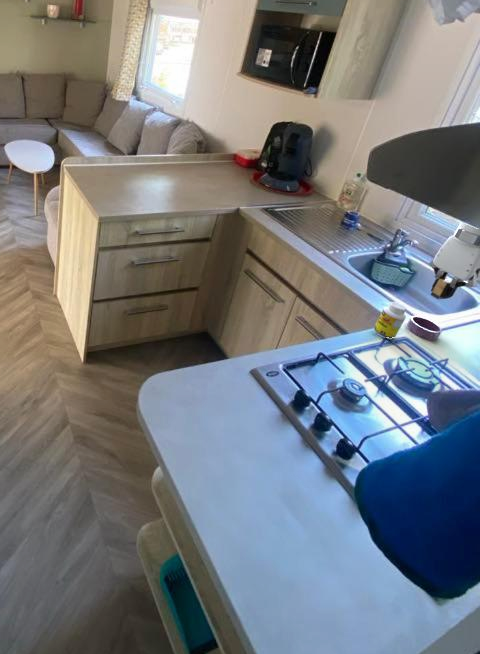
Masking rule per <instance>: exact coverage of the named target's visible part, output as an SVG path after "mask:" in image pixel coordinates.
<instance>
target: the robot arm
mask: <svg viewBox="0 0 480 654" xmlns="http://www.w3.org/2000/svg"><path fill="white" fill-rule="evenodd" d="M428 264H429V266H430V267H431V268H432V269H433V272H434V275H435V276H434V278H435V280H434V282H433V284H432V286H431V289H430V292H432V291H433V289H434V288H435V286H436V284H437V282H438V280H439V279H447V277H448V276H449V275H451V276H452V277H453V278H451V280H452V281H451V283H450V285H447V286H446V288H445V289H444V291H443V293H442V295H441V297H442V298H448V299H450V298H453V296H454V295H455V293H456V291H457V289H458V288H462V287H467V288H476V287H477V284H478V283H477V282H478V280H479V279H480V229H476V228H474V227H471V226H469V225H466V224H463V223H461V222H460V223H459V226H458V227H457V229H456V231H455V232H454V234H451V235H450V236H449V237H448V238H447V240H446V241H445V242H444V243H443V244H442V246H441V247H440V248H439V250H438V251H437V253H436V255H435V256H434V259H432V260H431V261H429V263H428Z"/></svg>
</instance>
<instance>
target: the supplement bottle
mask: <svg viewBox="0 0 480 654" xmlns="http://www.w3.org/2000/svg"><path fill="white" fill-rule="evenodd" d="M406 310H407V307H406V306H404V305H403V304H402V303H399V302H396V301H391V302H390V303H389V305H388V306H384V307H383V309H382V311H381V313H380V315H379V317H378V318H377V321H376V322H375V324H374V326H373V331H374V333H375V334H376V335H377V336H379V337H381V338H383V339H385V337H389V338H392V337H395V338H396V336H397V334H398V333H399V331H400V329H401V327H402V325H403V324H404V322H405V321H406V318H407V315H406V314H405V313H406ZM389 338H387V339H386V340H390V339H389ZM395 338H393V339H392V340H394V339H395Z"/></svg>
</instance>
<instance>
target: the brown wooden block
mask: <svg viewBox="0 0 480 654" xmlns="http://www.w3.org/2000/svg"><path fill="white" fill-rule="evenodd" d="M451 281H452V278H445V279H439V280H438V282H437V284H436V286H435V288H434V289H433V291H431V293H430V296H431V297H433V298H435V299H436V300H448V299H449V298H442V297H441V295H442V293H443V291H444V289H445V288H446V286H447V285H450V283H451Z"/></svg>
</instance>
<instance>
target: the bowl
mask: <svg viewBox="0 0 480 654" xmlns="http://www.w3.org/2000/svg"><path fill="white" fill-rule="evenodd" d="M406 325H407V329H408V330H409V332H411V333H412V334H414V335H415V336H417V337H419V338H422V339H424V340H427V341H436V340H438V339H439V338H440V337H441V334H442V333H443V328H442V327H441V326H440V325H439V324H437V323H436V322H435V321H433V320H431V319H428V318H426V317H423V316H419V315H412V316H410V318H409V320H408V321H407V324H406Z"/></svg>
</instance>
